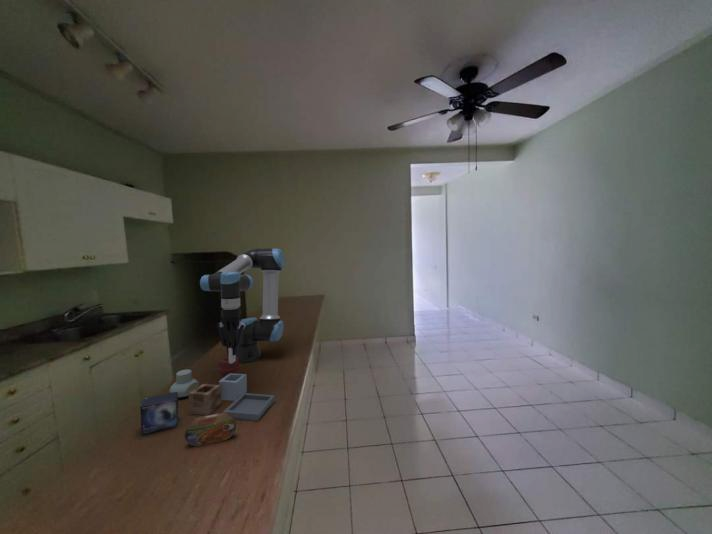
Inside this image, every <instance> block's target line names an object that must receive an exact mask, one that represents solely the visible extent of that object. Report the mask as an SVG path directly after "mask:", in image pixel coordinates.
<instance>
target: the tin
mask: <svg viewBox="0 0 712 534" xmlns="http://www.w3.org/2000/svg"><path fill="white" fill-rule="evenodd" d="M236 429H237V419H235V417H234V416H233V415H232V414H230V413H223V412H222V413H220V412H219V413H215V414H209V415H204V416H203V415H202V416H198V417H196V418H194V419H192V421H191V422H190V423H189V424H188V425H187V427H186V429H185V431H184V439H185V441H186V443H188V444H189V445H190V446H193V447H194V446H195V447H200V446H205V445H209V444H215V443H220V442H225V441H227V440H229V439H230V438H231V437H232V436H233V435H234V434H235V432H236Z"/></svg>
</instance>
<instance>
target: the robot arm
mask: <svg viewBox="0 0 712 534" xmlns="http://www.w3.org/2000/svg"><path fill="white" fill-rule="evenodd" d="M285 267H286V258H285V254H284V252H283V250H281V248H275V247H274V248H253V249H252V248H251V249H250V250H247V251H245V252H242V253H240V254H239V255H238V256H237V257H236V259H235V260H233V261H232V262H230V263H229V264H227V265H225V266H224V267H222V268H221V269H219V270H217V271H216V272H215V273H212V274H204V275H203V276H201V278H200V280H199V285H200V289H201V290H202V291H203V292H204V291H205V292H220V301H221V303H220V305H221V306H220V308H222V309H221V310H220V313H221V314H220V315H221V318H222V319H221V321H220V322H219V323H217V324H216V325H215V327H216V328H217V330H218V333H219V334H218V335H219V337H220V342H221V345H222V347H226V355H227V356H229V363H233V362H235V361H236V357H238V363H240V364H244V363H253V362H255V361H258V360H259V359H261V357H262V352H261V349H260V347H259V343H258V342H278V341H279V340H281V338H282V336H283V333H284V328H285V327H284V326H285V324H284V321H283V320H281V316H280V315H279V314H278V313H279V281H280V278H279V275H280V274H281V273H282V269H284V268H285ZM250 269H260V272H261V273H263V278H262V279H263V281H262V282H263V283H262V287H263V288H262V314H261V316H259V320H258V318H257V317H248V318H242V319H241V315H242V313H241V312H242V311H241V292H244V291H249V289H251V288H252V287H253V286H254V280H253V278H252V276H251V275H249V274H246V273H245V274H243V273H244V272H245V271H249V270H250ZM257 359H258V360H257Z"/></svg>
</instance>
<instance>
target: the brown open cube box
mask: <svg viewBox="0 0 712 534" xmlns="http://www.w3.org/2000/svg"><path fill="white" fill-rule="evenodd" d="M188 405H189V406H188V407H189V408H188V411H189V414H190V415H191V414H192V415H201V416H203V415H204V416H208V415H211V414H212V412H214V411H215V410H216V409H217V408H218V407H220V405H222V400H221V385H219V384H210V383H202V384H201V385H199V386H198V388H196V389H195V390H193V391H192V392H190V393H189V396H188Z"/></svg>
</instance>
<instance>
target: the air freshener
mask: <svg viewBox="0 0 712 534" xmlns="http://www.w3.org/2000/svg"><path fill="white" fill-rule="evenodd" d="M199 384H200V383H199V381H198V380H197V379H195V378H193V373H192V370H191V369H188V368H187V369H183V370H179V371H178V372H176V373H175V382H174V383H173V384H172V385H171V386H170V388H169V393H174V392H178V398H185V397H189V393H190V392H192V391H193V390H195V389H196V388H198V387H199V386H200V385H199Z"/></svg>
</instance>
